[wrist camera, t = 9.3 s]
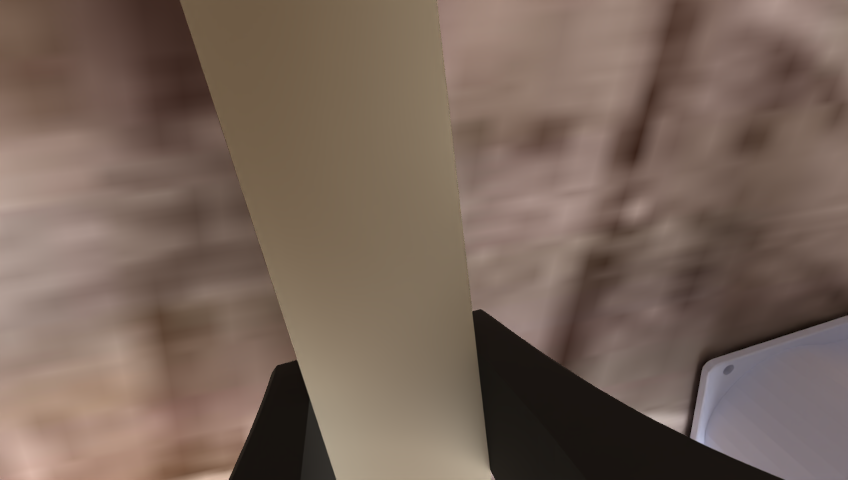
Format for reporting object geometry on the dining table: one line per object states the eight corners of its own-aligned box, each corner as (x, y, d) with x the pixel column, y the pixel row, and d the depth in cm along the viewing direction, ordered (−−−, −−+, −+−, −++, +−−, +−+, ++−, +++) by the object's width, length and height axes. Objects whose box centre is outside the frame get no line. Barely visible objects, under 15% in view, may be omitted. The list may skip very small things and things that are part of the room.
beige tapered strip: (351, -132, 8) (408, -258, 4) (457, 507, 15) (511, 659, 11) (189, -115, 7) (100, -240, 4) (378, 535, 14) (408, 701, 11)
